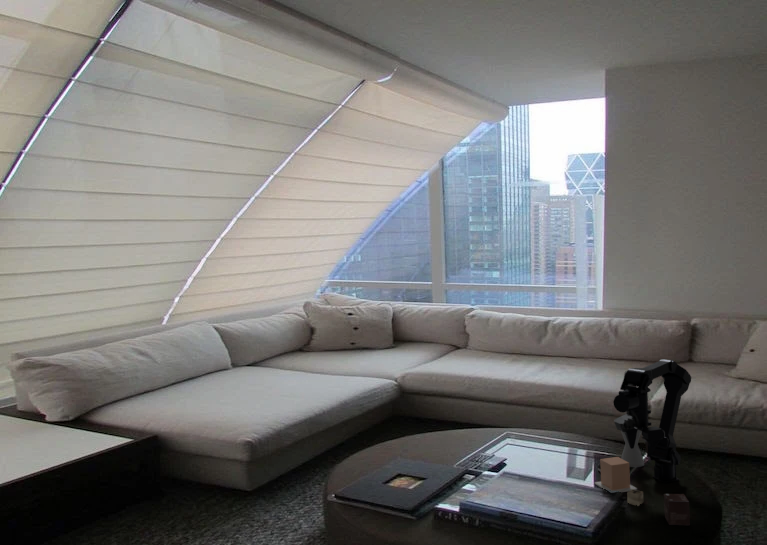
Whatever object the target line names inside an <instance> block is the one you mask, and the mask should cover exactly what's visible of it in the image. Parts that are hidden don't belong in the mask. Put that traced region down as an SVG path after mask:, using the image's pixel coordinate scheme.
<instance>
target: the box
mask: <svg viewBox="0 0 767 545" xmlns="http://www.w3.org/2000/svg"><path fill="white" fill-rule="evenodd" d="M663 505H664V507H663V508H664V518H665V521H666V522H667V524H668V525H669V526H690V525H691V524H690V523H691V521H690V520H691V518H690V517H691V516H690V514H691V512H690V500H689V499H688V498H687V496H686V495H685V494H684V493H664V494H663Z"/></svg>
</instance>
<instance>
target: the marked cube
mask: <svg viewBox="0 0 767 545" xmlns="http://www.w3.org/2000/svg"><path fill="white" fill-rule="evenodd" d="M626 495H627V496H626V497H627V504H628V503H629V504H628V505H632V506H636V505H637V507H639V506H641V505H642V504H643V503H644V491H642V490H641V491H640V490H638V489H637V490H633V489H632V490H630V491H627V493H626ZM640 504H641V505H640Z"/></svg>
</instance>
